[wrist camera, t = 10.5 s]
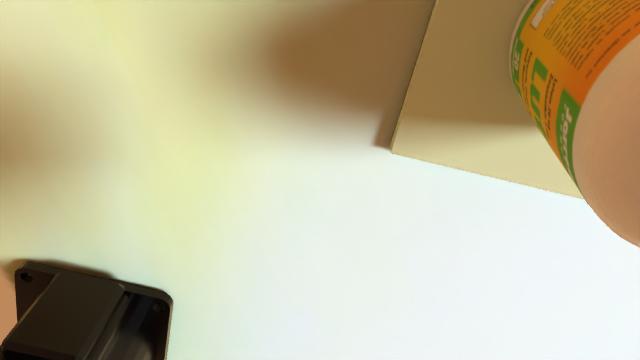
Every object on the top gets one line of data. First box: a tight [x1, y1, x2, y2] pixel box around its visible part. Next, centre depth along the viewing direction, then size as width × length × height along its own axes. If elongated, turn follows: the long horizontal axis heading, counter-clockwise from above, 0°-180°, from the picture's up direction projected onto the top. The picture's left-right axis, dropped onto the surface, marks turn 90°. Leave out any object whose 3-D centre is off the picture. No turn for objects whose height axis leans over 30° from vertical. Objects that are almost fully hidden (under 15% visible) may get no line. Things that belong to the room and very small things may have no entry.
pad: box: [390, 0, 584, 199], centre depth 17 cm, size 10×10×1 cm
